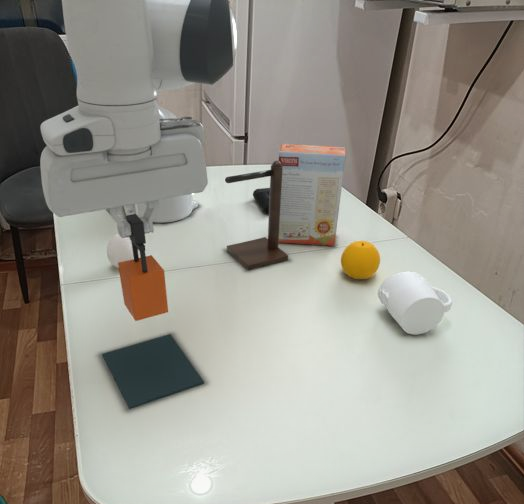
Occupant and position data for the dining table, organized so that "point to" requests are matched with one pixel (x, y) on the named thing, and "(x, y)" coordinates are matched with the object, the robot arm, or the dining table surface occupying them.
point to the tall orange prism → (142, 278)
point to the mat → (151, 370)
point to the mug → (414, 302)
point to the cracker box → (310, 193)
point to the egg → (119, 250)
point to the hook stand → (263, 248)
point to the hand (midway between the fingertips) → (136, 233)
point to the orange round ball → (360, 260)
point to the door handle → (262, 198)
